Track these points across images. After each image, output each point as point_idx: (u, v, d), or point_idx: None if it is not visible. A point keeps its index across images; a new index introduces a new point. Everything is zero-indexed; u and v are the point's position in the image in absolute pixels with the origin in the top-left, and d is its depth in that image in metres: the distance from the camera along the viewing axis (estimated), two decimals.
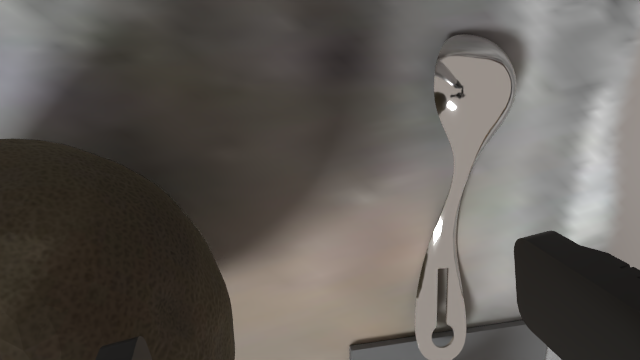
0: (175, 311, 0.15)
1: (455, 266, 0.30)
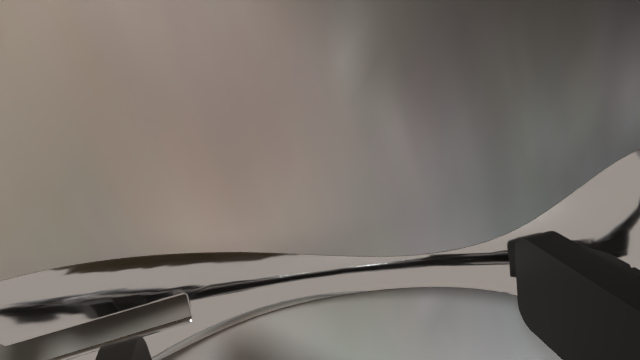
0: None
1: (194, 335, 0.12)
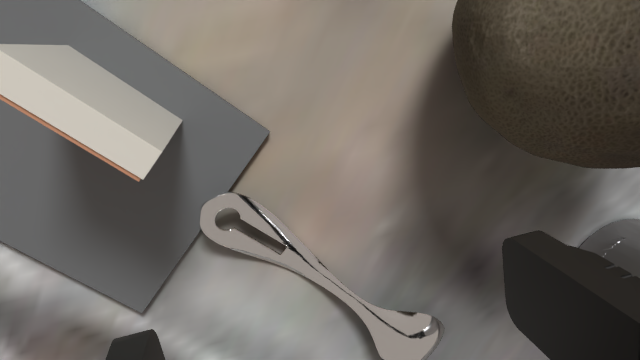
0: (618, 158, 0.21)
1: (274, 260, 0.31)
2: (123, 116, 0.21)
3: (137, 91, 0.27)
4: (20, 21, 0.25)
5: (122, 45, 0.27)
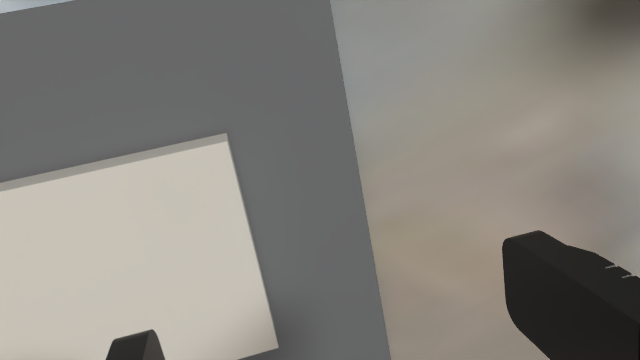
0: None
1: None
2: (19, 357, 0.14)
3: (253, 271, 0.15)
4: (250, 43, 0.15)
5: (339, 173, 0.16)
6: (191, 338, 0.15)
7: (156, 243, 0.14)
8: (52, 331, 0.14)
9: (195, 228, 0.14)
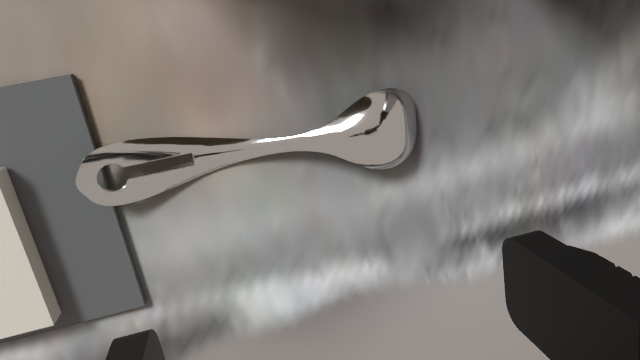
0: None
1: (195, 173, 0.28)
2: (3, 309, 0.27)
3: None
4: None
5: None
6: None
7: None
8: None
9: None
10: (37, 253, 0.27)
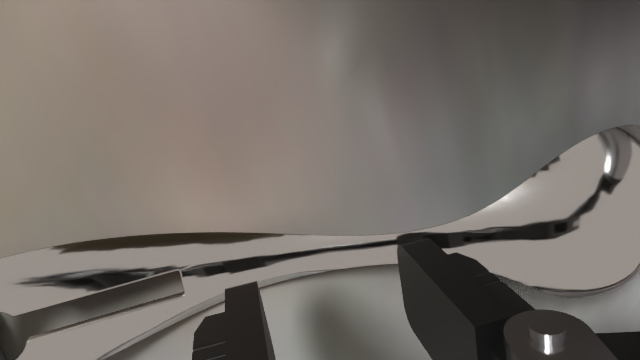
0: None
1: (187, 309, 0.13)
2: None
3: None
4: None
5: None
6: None
7: None
8: None
9: None
10: None
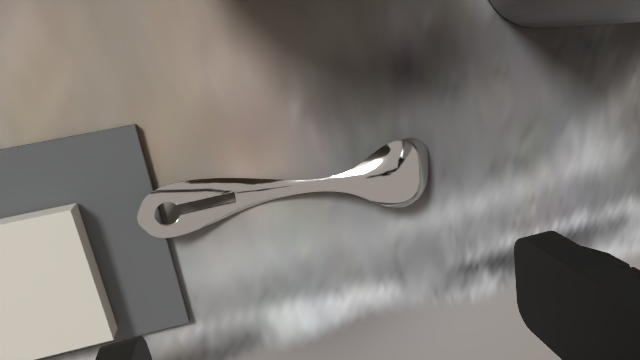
0: None
1: (236, 209, 0.33)
2: (71, 326, 0.31)
3: (20, 223, 0.28)
4: None
5: None
6: (62, 253, 0.29)
7: (4, 268, 0.29)
8: (57, 312, 0.30)
9: None
10: (100, 277, 0.31)
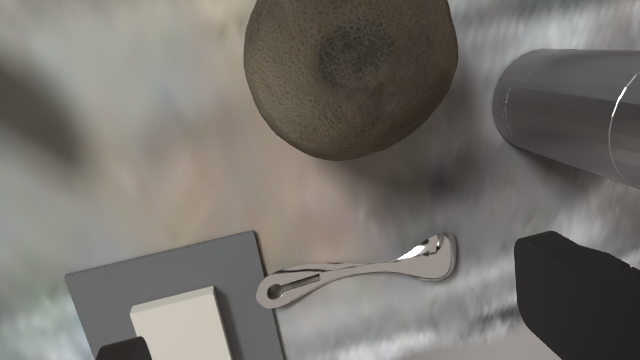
0: (408, 130, 0.31)
1: (320, 284, 0.46)
2: None
3: (180, 303, 0.42)
4: (99, 298, 0.42)
5: (148, 264, 0.42)
6: (206, 322, 0.42)
7: (168, 333, 0.42)
8: None
9: (162, 322, 0.42)
10: (226, 335, 0.45)
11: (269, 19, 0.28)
